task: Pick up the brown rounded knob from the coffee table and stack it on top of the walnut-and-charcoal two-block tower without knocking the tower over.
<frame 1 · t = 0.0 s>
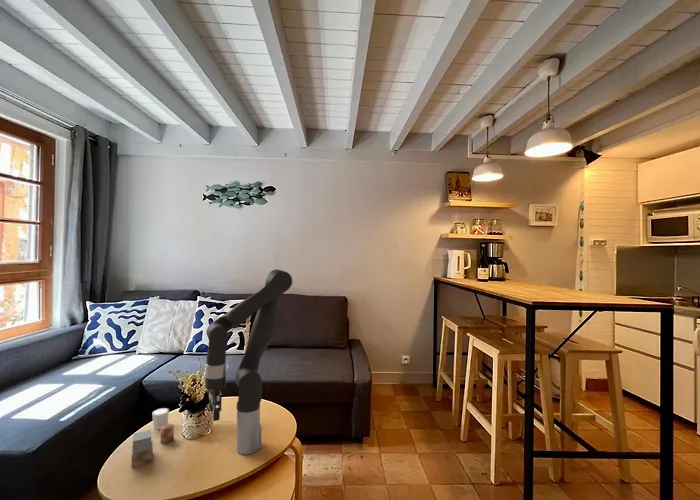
hand: (214, 415, 141), 17 cm above the table, tool pointing down, fingers open, 8 cm apart
brown rounded knob: (167, 440, 153), on the table
tower base: (142, 460, 140), on the table
tower top: (142, 447, 139), point 5 cm above the table
white cylinder: (160, 426, 164), on the table
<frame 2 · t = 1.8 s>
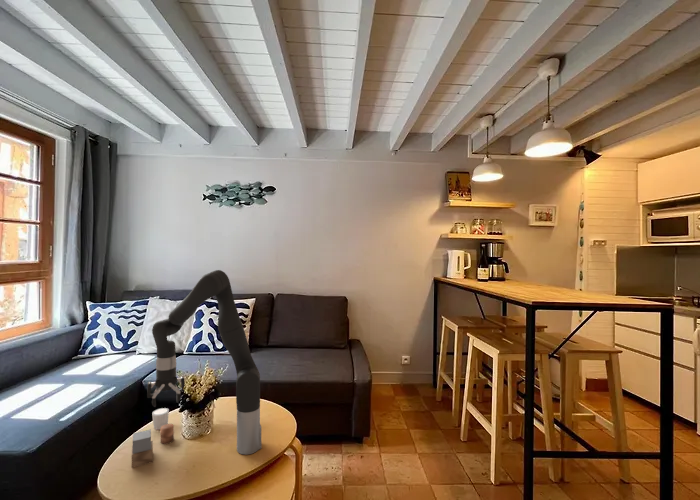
hand: (166, 403, 152), 16 cm above the table, tool pointing down, fingers open, 8 cm apart
tower base: (142, 460, 140), on the table, touching tower top
tower top: (142, 447, 139), point 5 cm above the table, touching tower base
everything else where it was.
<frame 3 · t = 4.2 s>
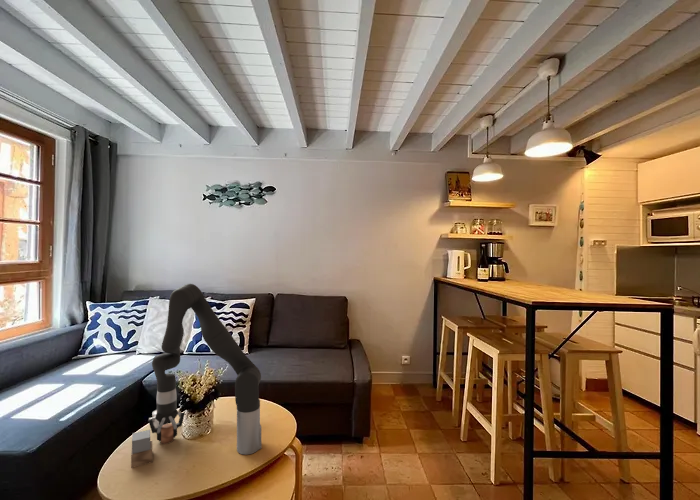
hand: (167, 438, 153), 1 cm above the table, tool pointing down, fingers closed on brown rounded knob, 5 cm apart
brown rounded knob: (167, 440, 153), on the table, touching gripper
tower base: (142, 460, 140), on the table
tower top: (141, 447, 139), point 5 cm above the table
everything else where it was.
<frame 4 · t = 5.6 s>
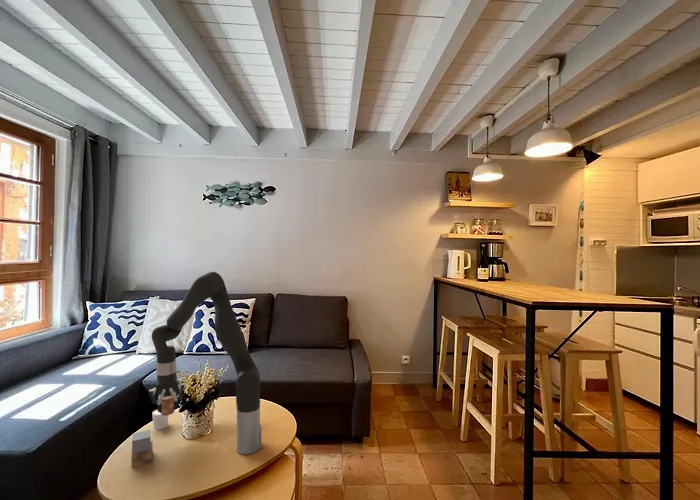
hand: (167, 410, 153), 13 cm above the table, tool pointing down, fingers closed on brown rounded knob, 5 cm apart
brown rounded knob: (167, 412, 153), point 12 cm above the table, touching gripper
tower base: (142, 460, 140), on the table, touching tower top
tower top: (141, 447, 139), point 5 cm above the table, touching tower base
everything else where it was.
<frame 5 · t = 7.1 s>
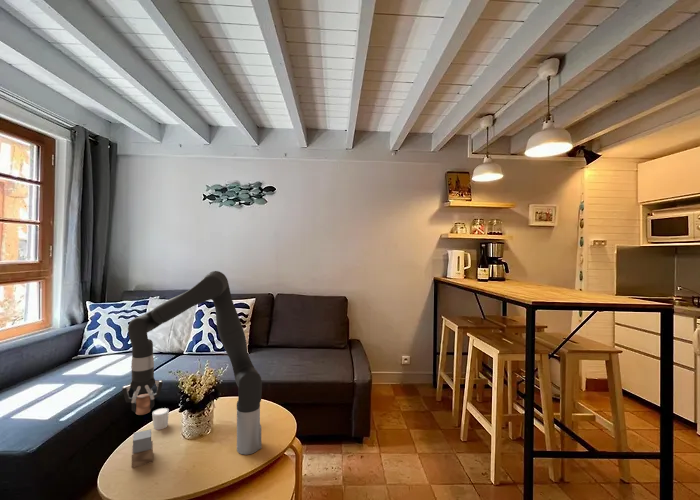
hand: (143, 409, 140), 20 cm above the table, tool pointing down, fingers closed on brown rounded knob, 5 cm apart
brown rounded knob: (143, 411, 140), point 19 cm above the table, touching gripper
everything else where it was.
when the fingers open (12 cm above the table, at t = 9.3 s): brown rounded knob drops 2 cm, resting on tower top.
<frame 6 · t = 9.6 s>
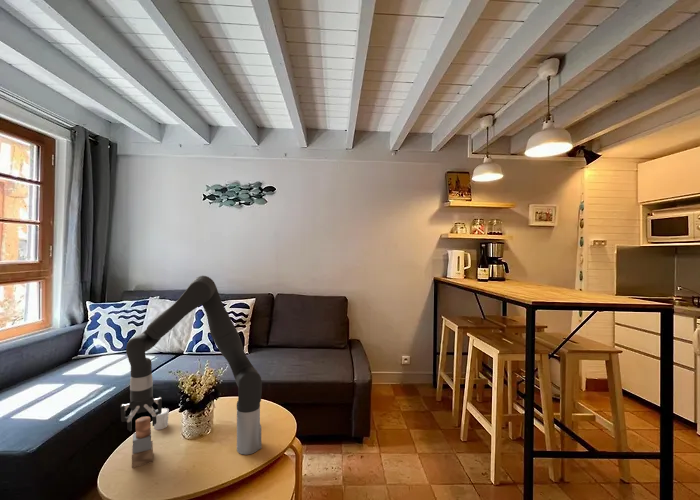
hand: (142, 427, 139), 13 cm above the table, tool pointing down, fingers open, 7 cm apart
brown rounded knob: (143, 434, 140), point 10 cm above the table, touching tower top
tower top: (142, 447, 140), point 5 cm above the table, touching brown rounded knob, tower base
everything else where it was.
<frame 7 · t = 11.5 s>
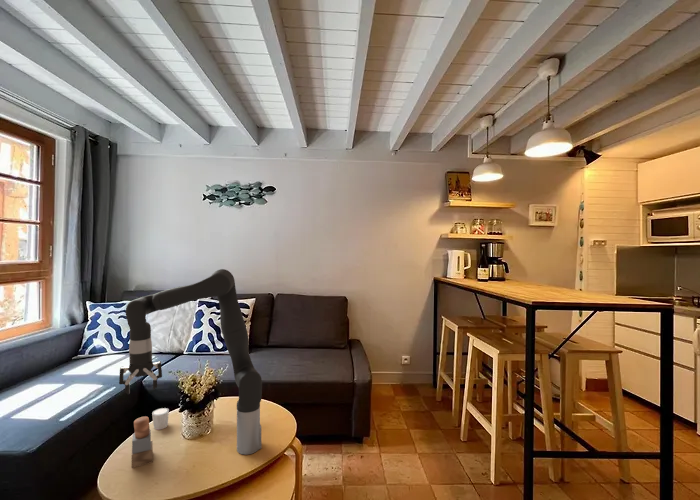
hand: (141, 391, 139), 27 cm above the table, tool pointing down, fingers open, 8 cm apart
nothing on the table moved.
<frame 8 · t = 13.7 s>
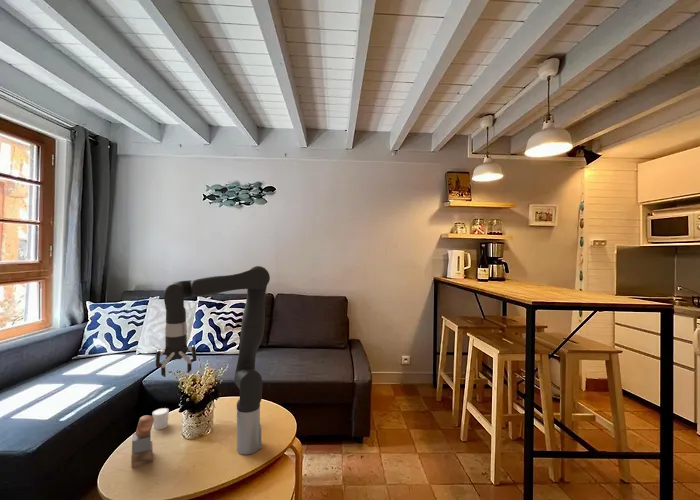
hand: (176, 374, 141), 33 cm above the table, tool pointing down, fingers open, 8 cm apart
brown rounded knob: (142, 433, 139), point 11 cm above the table, tilted 18°, touching tower top
everything else where it was.
at the end: brown rounded knob 0.4 cm off-centre on the tower top, point 5.6 cm above the tower top's base; tower top 0.2 cm off-centre on the tower base, point 5.0 cm above the tower base's base; brown rounded knob tilted 15° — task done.
